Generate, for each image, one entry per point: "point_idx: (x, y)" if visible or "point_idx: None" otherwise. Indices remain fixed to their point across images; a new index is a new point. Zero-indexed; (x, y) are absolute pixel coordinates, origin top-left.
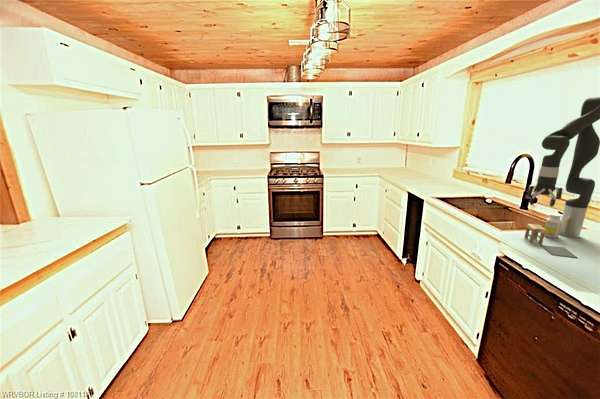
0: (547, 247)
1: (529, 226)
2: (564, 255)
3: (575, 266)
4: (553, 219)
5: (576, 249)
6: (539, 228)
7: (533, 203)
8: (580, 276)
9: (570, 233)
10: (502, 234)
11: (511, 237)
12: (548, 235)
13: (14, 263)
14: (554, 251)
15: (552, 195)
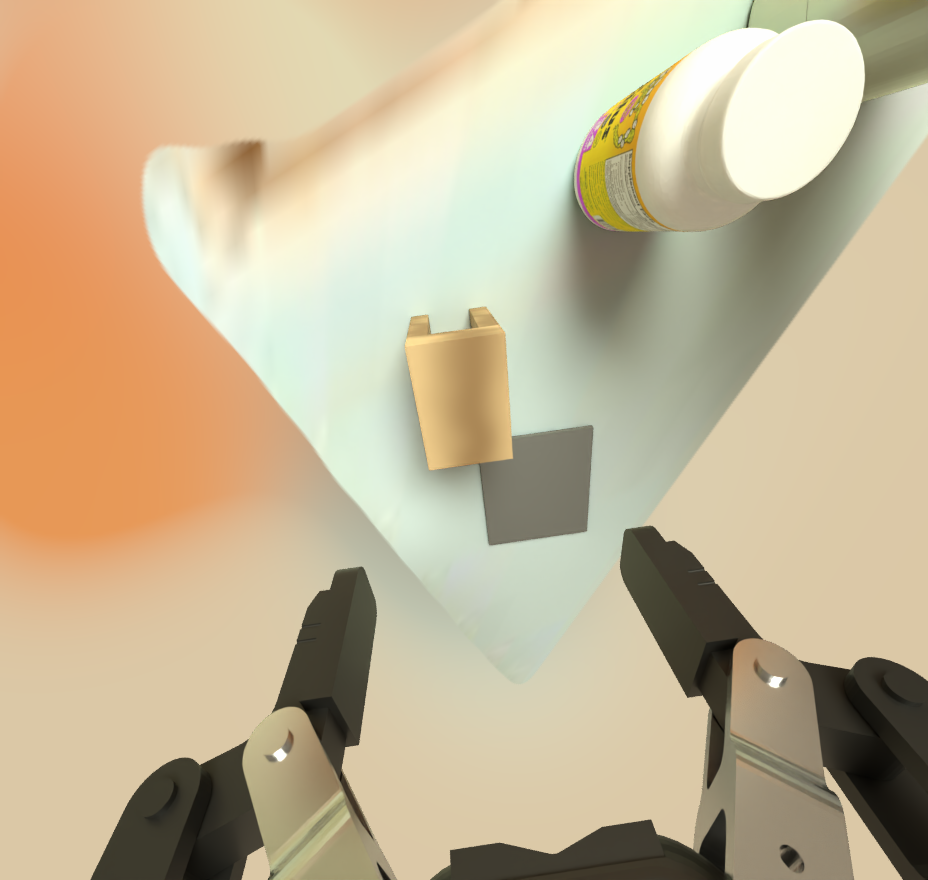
0: (499, 469)
1: (415, 398)
2: (539, 535)
3: (535, 602)
4: (702, 195)
5: (650, 413)
6: (475, 449)
7: (370, 639)
8: (515, 657)
9: None
10: (263, 328)
11: (325, 370)
12: (594, 222)
13: None
14: (513, 507)
15: (716, 861)
